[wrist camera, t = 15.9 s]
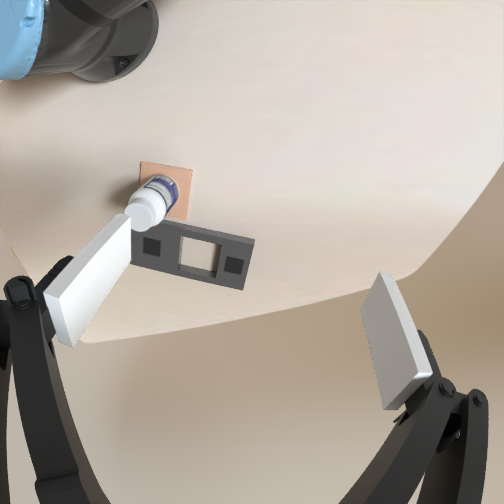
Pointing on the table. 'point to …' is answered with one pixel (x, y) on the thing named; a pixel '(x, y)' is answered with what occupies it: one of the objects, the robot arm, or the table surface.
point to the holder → (170, 249)
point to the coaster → (181, 178)
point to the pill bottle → (152, 202)
